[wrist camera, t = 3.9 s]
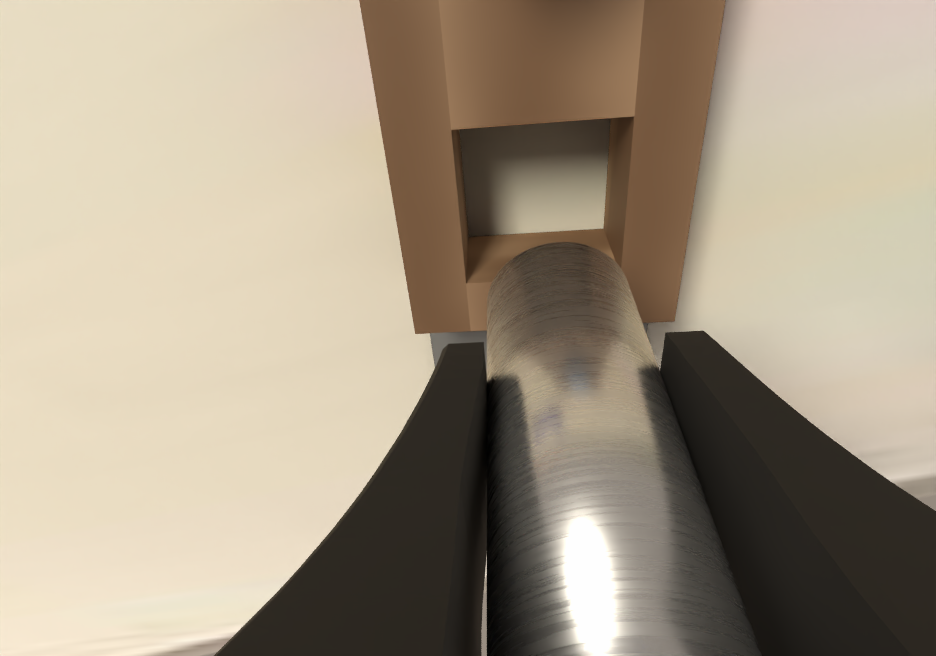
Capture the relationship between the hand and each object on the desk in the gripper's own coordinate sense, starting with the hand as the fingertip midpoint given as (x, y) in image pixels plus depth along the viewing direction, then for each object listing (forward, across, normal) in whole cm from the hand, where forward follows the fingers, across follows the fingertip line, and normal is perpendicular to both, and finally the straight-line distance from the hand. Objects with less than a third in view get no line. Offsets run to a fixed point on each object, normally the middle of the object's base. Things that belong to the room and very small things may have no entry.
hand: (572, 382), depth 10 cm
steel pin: (+3, 0, 0) cm, 3 cm away
